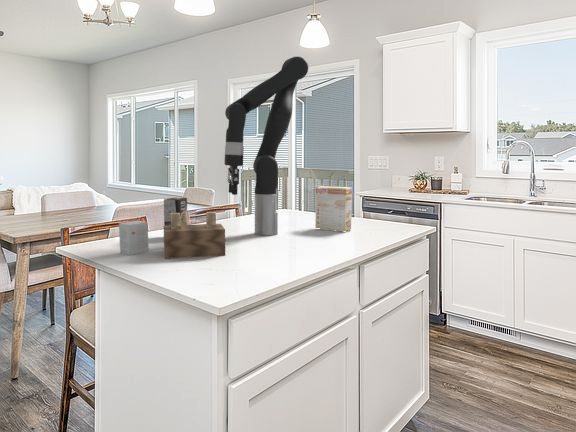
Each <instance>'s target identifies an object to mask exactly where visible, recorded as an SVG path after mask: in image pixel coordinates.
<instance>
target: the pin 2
mask: <svg viewBox="0 0 576 432" xmlns="http://www.w3.org/2000/svg"><path fill="white" fill-rule="evenodd" d="M205 215H206V218H205V222H206V223H205V224H206V228H215V227H216V224H217V213H216V211H206V213H205Z"/></svg>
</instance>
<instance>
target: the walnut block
mask: <svg viewBox="0 0 576 432" xmlns="http://www.w3.org/2000/svg"><path fill="white" fill-rule="evenodd" d="M163 251H164V254H163V255H164V256H163V257H164V259H177V258H179V259H180V258H197V257H198V258H201V257H218V256H226V229H225V227H224V226H223V225H222V223H216V227H215V228H206V223H205V224H204V223H202V224H201V223H200V224H188V225H180V229H171V225H169V226H164V225H163Z"/></svg>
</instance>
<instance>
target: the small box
mask: <svg viewBox="0 0 576 432" xmlns="http://www.w3.org/2000/svg"><path fill="white" fill-rule="evenodd" d="M148 225H149V224H148V222H147V221H143V220H142V221H141V220H134V221H133V220H132V221H126V222H119V223H118V234H119V235H118V236H119V253H120V254H123V255H126V256H134V255H137V254H138V255H139V254H142V253H147V252H149V249H150V247H149V229H148V227H149V226H148ZM133 254H134V255H133Z"/></svg>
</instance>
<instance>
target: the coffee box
mask: <svg viewBox="0 0 576 432" xmlns="http://www.w3.org/2000/svg"><path fill="white" fill-rule="evenodd" d="M171 213H180V225H189V224H188V223H189V221H188V198H187V197H169V198H164V199H163V227H164V226H169V225H171Z"/></svg>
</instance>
